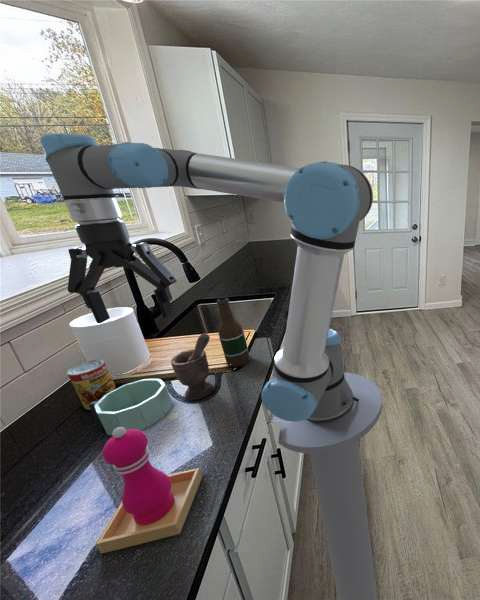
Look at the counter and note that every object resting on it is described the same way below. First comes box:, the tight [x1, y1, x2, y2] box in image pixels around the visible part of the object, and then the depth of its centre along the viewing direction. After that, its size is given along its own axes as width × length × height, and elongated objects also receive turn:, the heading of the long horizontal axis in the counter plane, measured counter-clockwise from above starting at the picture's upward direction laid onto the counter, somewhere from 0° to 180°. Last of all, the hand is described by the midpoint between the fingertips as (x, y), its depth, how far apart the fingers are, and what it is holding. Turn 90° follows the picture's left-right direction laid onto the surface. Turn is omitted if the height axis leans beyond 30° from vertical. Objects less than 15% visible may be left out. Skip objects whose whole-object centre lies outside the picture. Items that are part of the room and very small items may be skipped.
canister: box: [69, 306, 153, 381], centre depth 108 cm, size 16×16×20 cm
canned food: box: [66, 360, 117, 411], centre depth 92 cm, size 8×8×12 cm
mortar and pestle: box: [170, 333, 214, 402], centre depth 92 cm, size 12×9×20 cm
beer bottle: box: [216, 297, 251, 368], centre depth 107 cm, size 8×8×24 cm
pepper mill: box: [102, 427, 174, 525], centre depth 57 cm, size 7×7×20 cm
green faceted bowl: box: [89, 378, 174, 436], centre depth 86 cm, size 17×15×7 cm
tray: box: [95, 467, 203, 555], centre depth 60 cm, size 12×12×3 cm
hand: (136, 318), depth 70 cm, fingers open, 13 cm apart
